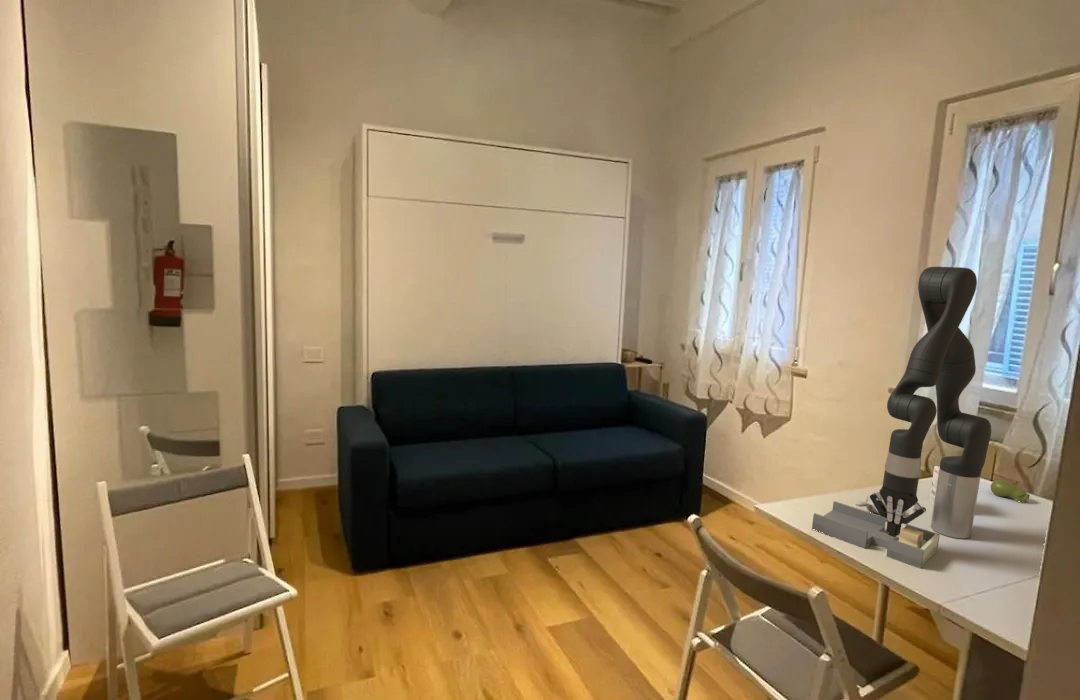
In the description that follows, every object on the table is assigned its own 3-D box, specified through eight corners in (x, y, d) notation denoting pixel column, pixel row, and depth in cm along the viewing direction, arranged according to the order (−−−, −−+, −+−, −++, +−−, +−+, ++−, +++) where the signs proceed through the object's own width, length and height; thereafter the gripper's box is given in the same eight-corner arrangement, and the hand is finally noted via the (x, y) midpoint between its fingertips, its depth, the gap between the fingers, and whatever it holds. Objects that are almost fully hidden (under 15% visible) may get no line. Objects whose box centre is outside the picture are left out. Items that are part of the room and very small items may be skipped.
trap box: (832, 516, 172) (834, 501, 171) (937, 550, 153) (939, 534, 152) (811, 529, 162) (813, 513, 161) (920, 568, 143) (923, 550, 143)
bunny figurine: (908, 499, 176) (888, 505, 166) (905, 516, 176) (884, 523, 167) (874, 489, 183) (853, 494, 174) (871, 505, 184) (850, 511, 174)
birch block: (903, 541, 153) (905, 526, 152) (921, 547, 150) (923, 532, 150) (898, 545, 150) (900, 530, 150) (915, 551, 148) (918, 536, 147)
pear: (996, 475, 195) (1033, 489, 188) (990, 489, 197) (1027, 504, 190) (992, 478, 192) (1030, 493, 185) (986, 493, 193) (1023, 508, 186)
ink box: (959, 514, 176) (965, 476, 175) (940, 512, 177) (946, 474, 176) (945, 503, 185) (951, 466, 183) (928, 501, 186) (933, 465, 184)
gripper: (936, 475, 149) (926, 541, 151) (879, 460, 158) (870, 522, 161) (927, 482, 144) (916, 549, 146) (868, 466, 153) (859, 529, 156)
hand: (892, 535), depth 154 cm, fingers closed
